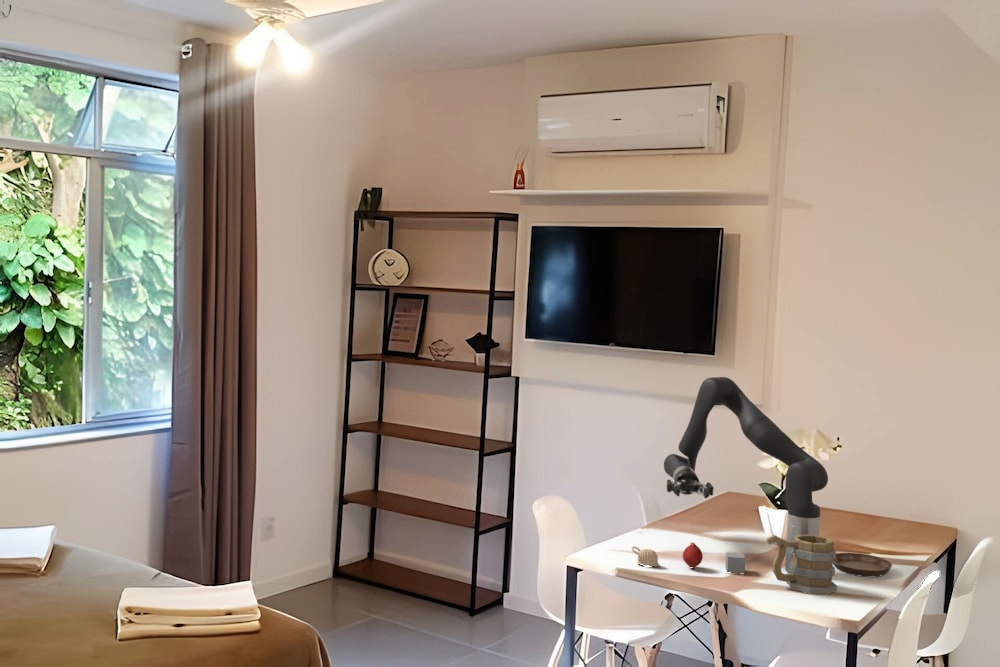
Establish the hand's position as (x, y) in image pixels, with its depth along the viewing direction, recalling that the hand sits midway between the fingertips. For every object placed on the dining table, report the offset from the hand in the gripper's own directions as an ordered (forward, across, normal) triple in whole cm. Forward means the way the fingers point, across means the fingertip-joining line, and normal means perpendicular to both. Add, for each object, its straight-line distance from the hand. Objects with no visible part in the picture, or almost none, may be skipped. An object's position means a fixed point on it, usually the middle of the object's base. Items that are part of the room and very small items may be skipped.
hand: (692, 494), depth 302 cm
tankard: (+25, +28, +18) cm, 42 cm away
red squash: (+11, 0, +20) cm, 23 cm away
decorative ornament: (+10, -14, +20) cm, 27 cm away
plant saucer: (+4, +52, +19) cm, 55 cm away
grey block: (+12, +12, +19) cm, 26 cm away
